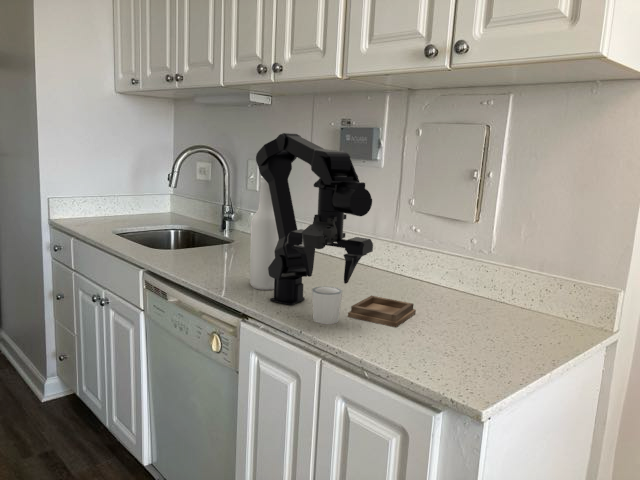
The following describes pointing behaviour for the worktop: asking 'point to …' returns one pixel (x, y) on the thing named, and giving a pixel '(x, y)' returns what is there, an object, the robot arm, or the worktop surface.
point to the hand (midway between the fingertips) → (327, 279)
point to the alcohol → (263, 241)
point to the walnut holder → (382, 311)
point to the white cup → (326, 304)
